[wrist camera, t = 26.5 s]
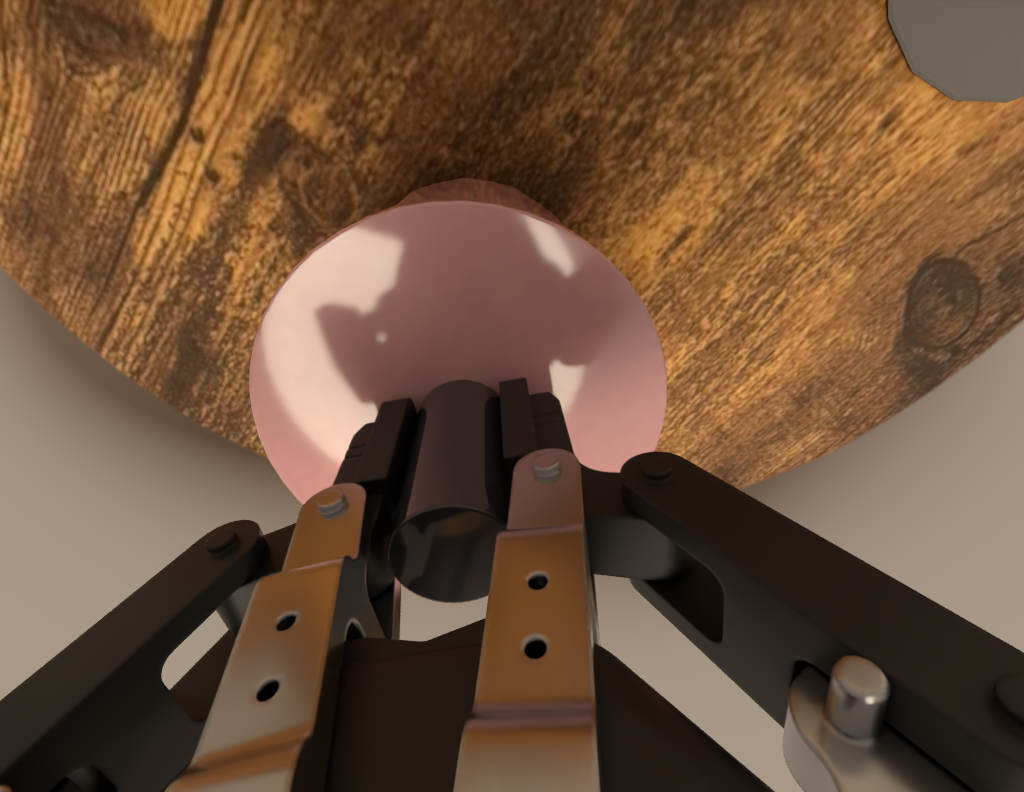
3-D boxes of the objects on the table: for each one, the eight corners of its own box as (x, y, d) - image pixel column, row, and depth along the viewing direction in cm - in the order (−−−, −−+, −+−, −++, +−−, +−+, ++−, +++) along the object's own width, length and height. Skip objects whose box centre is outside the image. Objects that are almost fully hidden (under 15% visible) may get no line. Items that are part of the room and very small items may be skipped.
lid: (272, 524, 17) (166, 720, 11) (257, 153, 12) (53, 175, 6) (599, 557, 18) (650, 746, 12) (710, 237, 13) (875, 318, 7)
